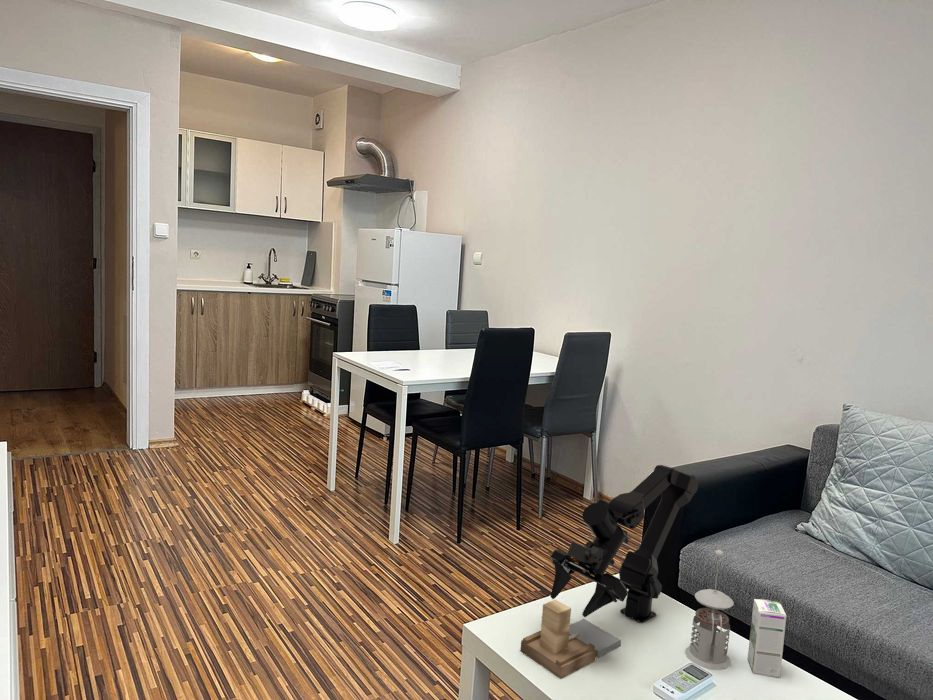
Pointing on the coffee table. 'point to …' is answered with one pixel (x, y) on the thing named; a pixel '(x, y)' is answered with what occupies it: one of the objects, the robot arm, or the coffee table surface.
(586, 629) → the grey rubber pad
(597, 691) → the coffee table surface
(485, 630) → the coffee table surface
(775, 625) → the syrup box
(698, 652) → the french press
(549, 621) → the oak mallet
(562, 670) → the walnut shelf lane
